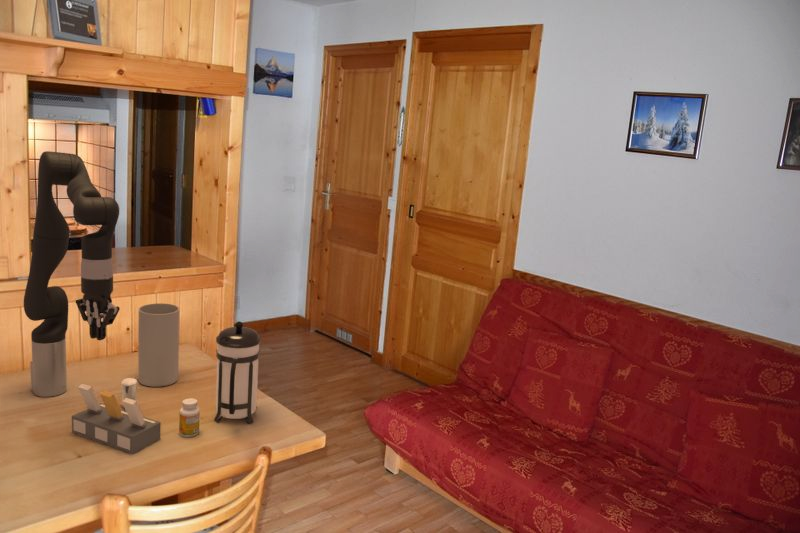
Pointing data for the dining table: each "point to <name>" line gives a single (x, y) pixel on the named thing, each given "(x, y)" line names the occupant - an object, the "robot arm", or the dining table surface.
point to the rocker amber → (111, 405)
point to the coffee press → (237, 373)
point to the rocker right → (134, 412)
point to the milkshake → (129, 388)
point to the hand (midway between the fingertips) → (97, 338)
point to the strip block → (115, 430)
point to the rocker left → (89, 398)
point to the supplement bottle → (189, 418)
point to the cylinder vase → (158, 344)
